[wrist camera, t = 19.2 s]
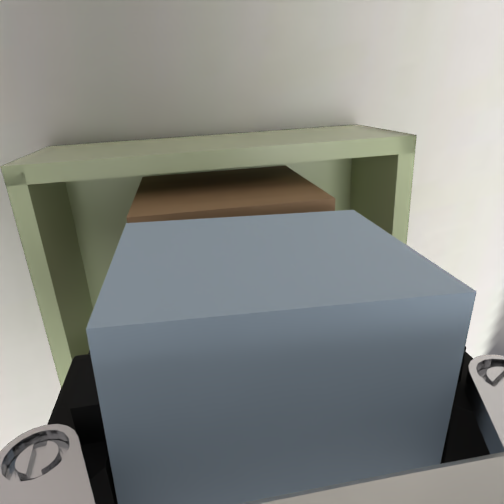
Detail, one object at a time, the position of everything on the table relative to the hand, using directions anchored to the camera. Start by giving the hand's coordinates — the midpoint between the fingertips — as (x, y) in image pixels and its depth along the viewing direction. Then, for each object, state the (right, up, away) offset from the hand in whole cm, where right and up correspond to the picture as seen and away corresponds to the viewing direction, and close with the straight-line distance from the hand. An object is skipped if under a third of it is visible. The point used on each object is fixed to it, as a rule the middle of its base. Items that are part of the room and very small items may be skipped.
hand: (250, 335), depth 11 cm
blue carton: (0, 0, +1) cm, 1 cm away
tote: (-1, +3, +8) cm, 9 cm away
